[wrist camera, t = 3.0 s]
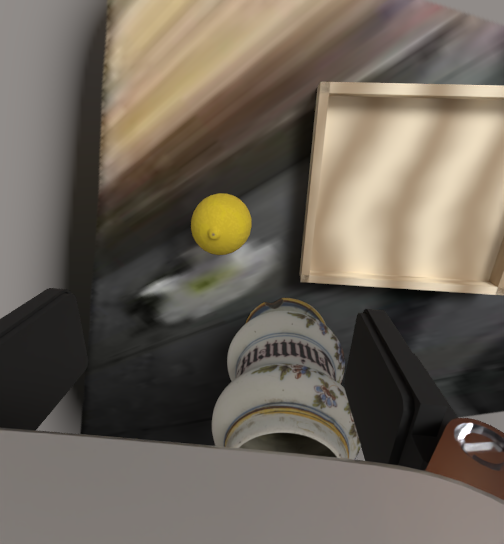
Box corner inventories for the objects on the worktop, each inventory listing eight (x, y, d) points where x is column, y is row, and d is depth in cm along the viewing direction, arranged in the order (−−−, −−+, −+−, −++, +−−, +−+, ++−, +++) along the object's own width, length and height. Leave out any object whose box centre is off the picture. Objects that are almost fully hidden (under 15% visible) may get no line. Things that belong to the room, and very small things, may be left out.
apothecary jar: (314, 273, 35) (345, 389, 18) (349, 358, 38) (400, 519, 22) (218, 309, 38) (167, 438, 21) (258, 385, 41) (243, 546, 24)
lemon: (265, 213, 33) (260, 233, 25) (231, 250, 35) (217, 278, 27) (225, 177, 32) (207, 185, 24) (192, 217, 34) (167, 236, 26)
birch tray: (554, 92, 27) (579, 87, 25) (488, 285, 33) (503, 295, 31) (317, 87, 28) (320, 81, 26) (299, 273, 35) (300, 281, 33)
